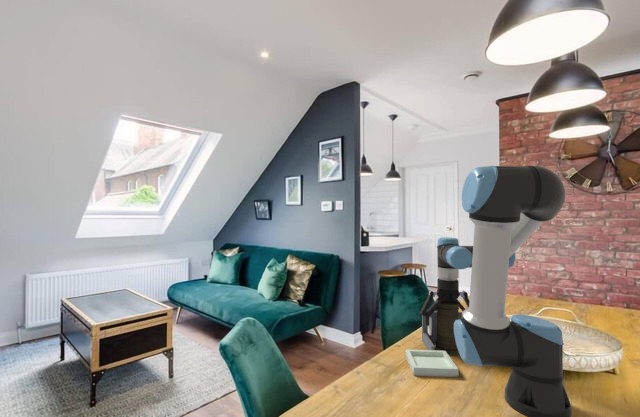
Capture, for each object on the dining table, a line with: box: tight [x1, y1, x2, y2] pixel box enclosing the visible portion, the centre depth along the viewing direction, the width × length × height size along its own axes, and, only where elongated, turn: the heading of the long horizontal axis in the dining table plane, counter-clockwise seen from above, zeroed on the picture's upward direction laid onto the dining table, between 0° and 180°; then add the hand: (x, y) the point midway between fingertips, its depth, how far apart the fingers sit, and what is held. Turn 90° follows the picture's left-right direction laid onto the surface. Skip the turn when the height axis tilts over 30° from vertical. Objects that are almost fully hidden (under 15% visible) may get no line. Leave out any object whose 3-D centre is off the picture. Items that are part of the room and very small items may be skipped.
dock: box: [421, 310, 463, 350], centre depth 128 cm, size 15×15×12 cm
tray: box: [405, 348, 460, 378], centre depth 113 cm, size 14×14×2 cm
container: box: [434, 302, 460, 356], centre depth 127 cm, size 9×9×18 cm
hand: (447, 334), depth 127 cm, fingers open, 13 cm apart
